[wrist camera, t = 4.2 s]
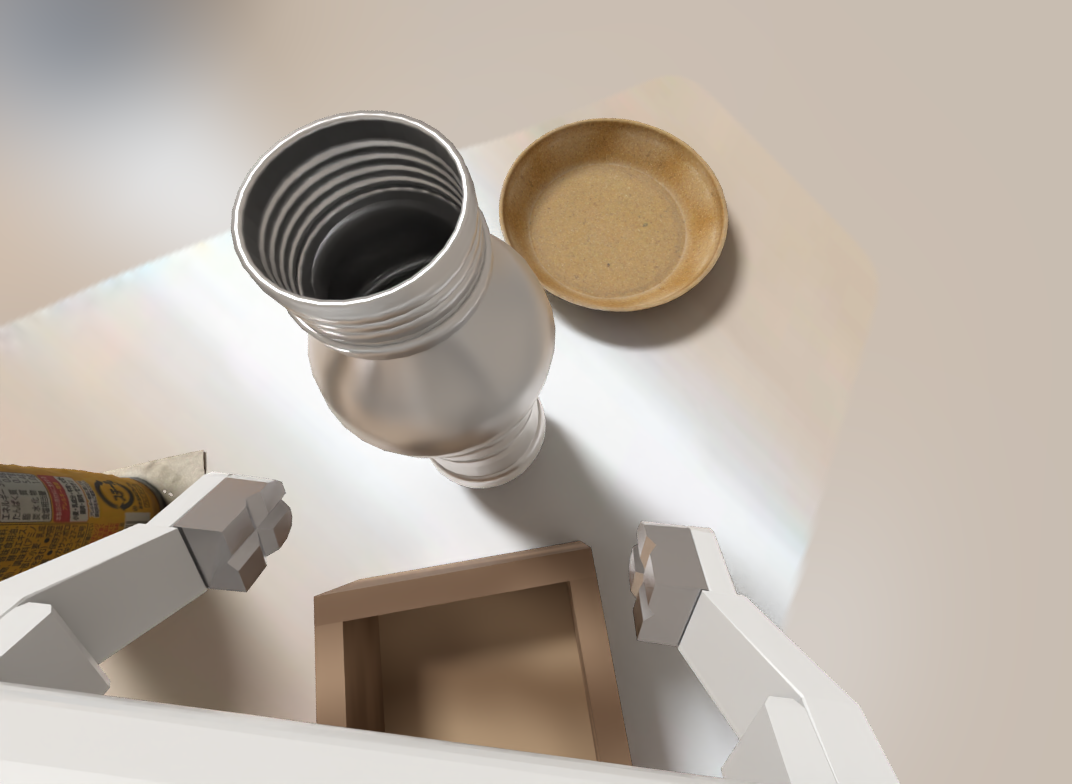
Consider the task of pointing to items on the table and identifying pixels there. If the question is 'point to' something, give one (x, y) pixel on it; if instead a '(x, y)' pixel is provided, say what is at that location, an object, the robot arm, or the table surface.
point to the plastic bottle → (401, 292)
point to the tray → (476, 655)
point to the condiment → (81, 506)
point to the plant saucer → (614, 214)
